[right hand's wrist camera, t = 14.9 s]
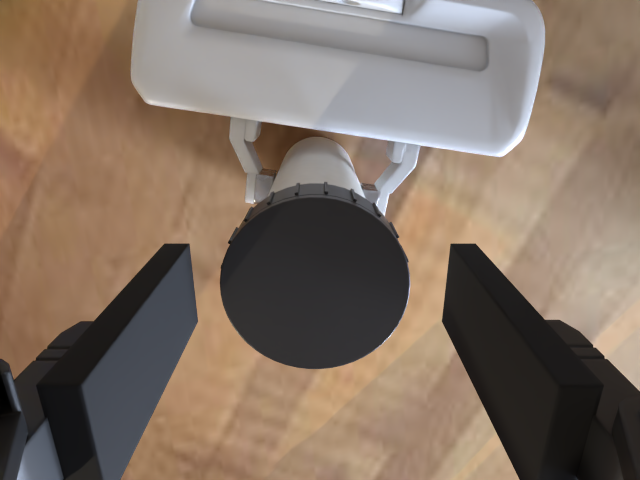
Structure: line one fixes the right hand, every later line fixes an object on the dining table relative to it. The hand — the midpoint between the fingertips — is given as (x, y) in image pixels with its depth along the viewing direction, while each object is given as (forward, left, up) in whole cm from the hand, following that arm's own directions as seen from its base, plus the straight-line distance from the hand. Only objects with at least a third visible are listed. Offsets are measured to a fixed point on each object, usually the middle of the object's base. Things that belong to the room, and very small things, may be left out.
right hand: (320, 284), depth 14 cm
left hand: (-1, +1, -12) cm, 12 cm away
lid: (0, 0, 0) cm, 1 cm away
